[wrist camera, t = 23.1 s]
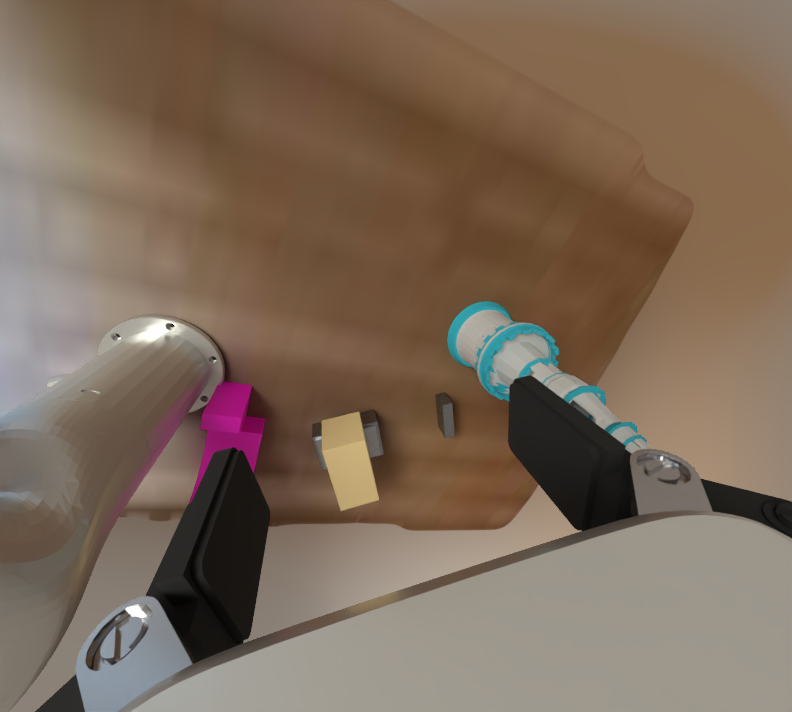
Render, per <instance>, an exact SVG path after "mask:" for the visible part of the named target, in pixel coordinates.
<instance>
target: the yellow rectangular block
mask: <svg viewBox="0 0 792 712" xmlns="http://www.w3.org/2000/svg"><path fill="white" fill-rule="evenodd" d="M322 453H323V456H324V459H325V462H326V466H327V469H328V472H329V475H330V478H331V481H332V484H333V487H334V491H335V494H336V497H337V500H338V503H339V506H340V509H341V511H343V510H346V509H349V508H353V507H356V506H360V505H363V504H367V503H370V502H374V501H377V500H379V497H378V492H377V487H376V482H375V478H374V473H373V468H372V464H371V459H370V455H369V451H368V447H367V443H366V438H365V434H364V430H363V426H362V421H361V417H360V413H359V412H355V413H351V414H347V415H343V416H339V417H335V418H331V419H327V420H323V421H322Z"/></svg>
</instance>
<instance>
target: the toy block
mask: <svg viewBox="0 0 792 712" xmlns="http://www.w3.org/2000/svg"><path fill="white" fill-rule="evenodd" d="M251 389H252V386H250V385H244V384H238V383H232V382H225V381H224V382H223V384H222V385H217V387H216V389H215V391H214V393H213V395H212V397H211V398H210V400H209V402H208V404H207V406H206V408H205V410H204V412H203V414H202V420H201V427H200V429H201V430H207V438H206V445H205V450H204V455H203V459H202V463H201V467H200V471H199V474H198V478H197V481H196V484H195V487H194V490H193V493H192V496H191V499H190V502H189V503H191V502H192V500H193V497H194V495H195V493H196V491H197V489H198V486H199V484H200V482H201V480H202V478H203V475H204V473H205V471H206V469H207V466H208V464H209V462H210V460H211V458H212V455H213V454H214V452H216V451H220V450H224V449H228V448H232V447H235V448H236V449H237V450H238V451H239V450H243V451H244V453H245V455H246V458H247V460H248V462H249V464H250V466H251V469H252V471H253V473H254V470H255V466H256V461H257V456H258V452H259V447H260V443H261V439H262V434H263V430H264V425H265V420H266V419H265V418H258V417H250V416H246V414H247V409H248V404H249V399H250V394H251Z"/></svg>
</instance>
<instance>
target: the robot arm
mask: <svg viewBox="0 0 792 712" xmlns="http://www.w3.org/2000/svg"><path fill="white" fill-rule="evenodd" d="M171 323H172V324H173V325H174V326H172V325H171ZM118 334H119V335H120V336H119V335H118ZM213 356H214V357H216V358H213ZM224 378H225V365H224V360H223V357H222V354H221V352H220V351H219V349H218V347H217V346H216V344H215V343H214V342H213V341H212V340H211V338H210V337H209V336H208V335H206V334H205V333H204V332H203V331H201V330H200V329H199V328H197V327H195V326H193V325H192V324H190V323H188V322H185V321H182V320H180V319H177V318H173V317H168V316H160V315H148V316H139V317H136V318H132V319H129V320H127V321H125V322H123V323H121V324H119V325H117V326H116V327H114V328H113V329H111V330H110V331H109V332H108V333H107V334H106V335H105V336H104V338H103V340H102V341H101V343H100V345H99V349H98V353H97V358H95V359H94V360H92V361H90V362H89V363H87V364H86V365H84V366H82V367H81V368H79V369H78V370H76V371H74V372H73V373H71V374H66V375H61V376H56V377H52V378H50V379H49V381H48V383H47V384H48V388H47V389H46V390H44V391H43V392H41V393H40V394H38V395H36V396H35V397H33V398H32V399H30V400H28V401H27V402H25V403H24V404H22V405H20V406H19V407H17V408H16V409H14V410H12V411H10V412H9V413H7V414H6V415H4V416H2V417H1V418H0V712H9V711H10V710H11V709H12V708H13V707H14V706H15V705H16V703H17V702H18V701H19V700H20V699H21V698H22V696H23V695H24V694H25V693H26V691H27V690H28V689H29V688H30V686H31V685H32V684H33V682H34V681H35V680H36V679H37V677H38V676H39V674H40V673H41V672H42V670H43V669H44V667H45V666H46V664H47V663H48V661H49V659H50V658H51V657H52V655H53V654H54V652H55V650H56V648H57V647H58V645H59V643H60V642H61V640H62V638H63V636H64V635H65V633H66V631H67V629H68V627H69V625H70V623H71V621H72V619H73V617H74V615H75V613H76V610H77V608H78V606H79V603H80V601H81V599H82V597H83V594H84V592H85V589H86V587H87V584H88V581H89V579H90V576H91V574H92V571H93V569H94V566H95V564H96V561H97V559H98V557H99V554H100V552H101V550H102V548H103V546H104V543H105V542H106V540H107V537H108V536H109V534H110V532H111V530H112V528H113V526H114V525H115V523H116V521H117V519H118V518H119V516H120V514H121V513H122V511H123V510H124V508H125V506H126V505H127V503H128V502H129V500H130V499H131V497H132V495H133V494H134V492H135V491H136V489H137V488H138V486H139V485H140V483H141V482H142V480H143V479H144V478H145V476H146V475H147V473H148V472H149V470H150V469H151V467H152V466H153V464H154V463H155V461H156V460H157V458H158V457H159V455H160V454H161V452H162V451H163V449H164V448H165V446H166V445H167V443H168V442H169V441H170V439H171V438H172V436H173V435H174V433H175V432H176V430H177V429H178V427H179V426H180V424H181V423H182V421H183V420H184V418H185V417H186V415H187V414H188V413H191V412H194V411H197V410H199V409H201V408H203V407H204V406H206V405H207V404H208V402H209V400H210V398H211V397H212V395H213V393H214V391H215V389H216V387H217V385H222V384H223V382H224ZM206 396H207V397H206ZM508 443H509V447H510V449H511V451H512V452H513V453H514V455H515V456H516V457H517V458H518V460H519V461H520V462H521V463H522V464H523V466H524V467H525V468H526V469H527V471H528V472H529V473H530V474H531V475H532V477H533V478H534V479H535V480H536V482H537V483H538V484H539V485H540V486H541V488H542V489H543V490H544V491H545V492H546V494H547V495H548V496H549V497H550V499H551V500H552V501H553V502H554V504H555V505H556V506H557V507H558V508H559V510H560V511H561V512H562V513H563V515H564V516H565V517H566V518H567V519H568V521H569V522H570V523H571V524H572V525H573V527H574V528H575V529H577V530H582V532H579V533H575V534H572V535H569V536H565V537H563V538H559V539H556V540H553V541H550V542H547V543H544V544H540V545H537V546H534V547H531V548H528V549H525V550H522V551H519V552H516V553H513V554H509V555H506V556H503V557H500V558H497V559H494V560H491V561H488V562H485V563H481V564H478V565H475V566H472V567H469V568H466V569H463V570H460V571H457V572H454V573H451V574H448V575H445V576H442V577H439V578H435V579H432V580H429V581H427V582H423V583H420V584H417V585H414V586H411V587H408V588H405V589H402V590H399V591H396V592H393V593H390V594H387V595H384V596H381V597H378V598H375V599H372V600H369V601H366V602H363V603H360V604H357V605H354V606H351V607H348V608H345V609H342V610H339V611H336V612H333V613H330V614H327V615H324V616H321V617H318V618H315V619H312V620H309V621H306V622H303V623H300V624H297V625H294V626H291V627H289V628H286V629H283V630H280V631H277V632H274V633H272V634H269V635H266V636H263V637H260V638H257V639H255V640H252V641H249V642H246V643H243V641H244V640H245V639H248V638H249V636H250V632H251V628H252V622H253V616H254V610H255V604H256V598H257V592H258V586H259V580H260V574H261V568H262V562H263V556H264V550H265V544H266V538H267V532H268V526H269V520H270V511H269V507H268V505H267V502H266V500H265V498H264V496H263V493H262V491H261V489H260V487H259V484H258V482H257V480H256V478H255V475H254V473H253V471H252V469H251V466H250V464H249V462H248V460H247V458H246V455H245V453H244V451H243V450H239V451H238V450H237V449H236V448H235V447H232V448H228V449H224V450H220V451H216V452H214V454H213V455H212V458H211V460H210V462H209V464H208V466H207V469H206V471H205V473H204V475H203V478H202V480H201V482H200V484H199V486H198V489H197V491H196V493H195V495H194V497H193V500H192V502H191V503H189V504H188V506H187V508H186V509H185V512H184V514H183V516H182V518H181V520H180V523H179V525H178V527H177V529H176V531H175V533H174V535H173V538H172V540H171V542H170V544H169V546H168V548H167V551H166V553H165V555H164V557H163V559H162V561H161V564H160V566H159V568H158V570H157V572H156V574H155V577H154V579H153V581H152V583H151V585H150V587H149V590H148V592H147V594H146V596H144V597H140V598H135V599H133V600H131V601H129V602H127V603H125V604H123V605H122V606H120V607H119V608H117V609H116V610H114V611H113V612H112V613H111V614H109V616H107V617H106V618H105V619H104V620H103V621H102V622H101V623H100V624H99V625H98V626H97V627H96V628H95V630H94V631H93V632H92V633H91V634H90V635H89V637H88V638H87V640H86V642H85V643H84V645H83V647H82V648H81V650H80V653H79V656H78V658H77V661H76V675H75V676H74V677H72V678H71V679H70V680H69V681H68V682H67V683H66V684H65V685H64V686H63V687H62V688H60V689H59V691H57V692H56V693H55V694H54V695H53V696H52V697H51V698H50V699H49V700H47V701H46V702H45V703H44V704H43V705H42V706H41V707H40V708H39V709H38V710H36V711H35V712H792V502H791V501H788V500H784V499H780V498H776V497H772V496H768V495H764V494H760V493H756V492H752V491H748V490H744V489H740V488H736V487H732V486H728V485H724V484H719V483H715V482H712V481H708V480H704V479H700V477H699V475H698V473H697V472H696V470H695V468H693V467H692V466H691V465H690V464H689V463H688V462H686V461H685V460H683V459H682V458H680V457H678V456H676V455H673V454H671V453H668V452H665V451H661V450H656V449H640V450H637V451H635V452H633V454H631V453H630V452H628V451H627V450H626V449H625V448H626V446H625V445H624V444H623V443H621V442H620V441H619V440H617V439H616V438H615V437H613V436H612V435H611V434H609V433H608V432H607V431H605V430H604V429H603V428H601V427H600V426H599V425H597V424H596V423H595V422H593V421H592V420H591V419H589V418H588V417H586V416H585V415H584V414H582V413H581V412H580V411H578V410H577V409H576V408H574V407H573V406H572V405H570V404H569V403H568V402H566V401H565V400H564V399H562V398H561V397H560V396H558V395H557V394H556V393H554V392H553V391H552V390H550V389H549V388H548V387H546V386H545V385H544V384H542V383H541V382H540V381H538V380H537V379H536V378H534V377H533V376H531V375H528V376H524V377H520V378H516V379H514V381H513V383H512V384H510V388H509V431H508Z"/></svg>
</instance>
